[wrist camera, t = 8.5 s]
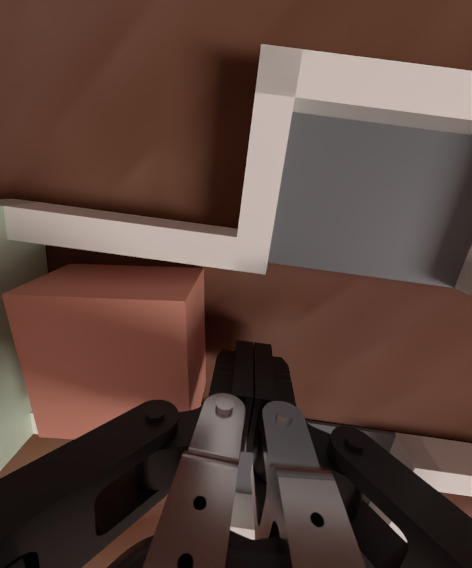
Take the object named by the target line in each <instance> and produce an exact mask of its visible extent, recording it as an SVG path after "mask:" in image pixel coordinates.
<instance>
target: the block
mask: <svg viewBox="0 0 472 568" xmlns="http://www.w3.org/2000/svg"><path fill="white" fill-rule="evenodd" d="M2 298H3V302H4V306H5V310H6V313H7V317H8V321H9V325H10V328H11V332H12V336H13V340H14V344H15V347H16V351H17V355H18V359H19V363H20V366H21V370H22V374H23V378H24V381H25V385H26V389H27V393H28V397H29V400H30V404H31V408H32V412H33V416H34V419H35V423H36V427H37V431H38V435H39V437H45V438H62V439H76V438H78V437H80V436H82V435H84V434H86V433H87V432H89V431H91V430H93V429H95V428H97V427H99V426H101V425H103V424H104V423H106V422H108V421H110V420H112V419H114V418H116V417H118V416H120V415H121V414H123V413H125V412H127V411H129V410H131V409H133V408H135V407H136V406H138V405H140V404H142V403H144V402H147V401H150V400H157V399H158V400H166V401H169V402H171V403H172V404H174V405H175V406H176V408H177V409H178V412H182V411H189V410H194V409H196V408H199V407H200V406H201V402H202V397H203V393H204V389H205V384H206V366H205V309H204V268H191V267H161V266H131V265H100V264H68V265H65V266H63V267H61V268H59V269H57V270H54V271H52V272H50V273H48V274H46V275H43V276H41V277H39V278H37V279H35V280H32V281H30V282H28V283H26V284H23V285H21V286H19V287H17V288H15V289H12V290H10V291H8V292H6V293H4V294H2Z"/></svg>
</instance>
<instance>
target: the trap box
mask: <svg viewBox="0 0 472 568" xmlns="http://www.w3.org/2000/svg"><path fill="white" fill-rule="evenodd" d="M46 245H52V246H59V247H66V248H74V249H81V250H88V251H96V252H103V253H111V254H118V255H125V256H133V257H140V258H147V259H155V260H162V261H169V262H177V263H184V264H191V265H199V266H206V267H213V268H221V269H228V270H236V271H243V272H250V273H258V274H265V275H266V269H267V263H275V264H282V265H290V266H297V267H304V268H312V269H319V270H326V271H334V272H341V273H349V274H356V275H363V276H371V277H378V278H385V279H393V280H400V281H408V282H415V283H422V284H430V285H437V286H445V287H452V288H456V289H458V290H460V291H461V292H463V293H465V294H467V295H469V296H471V297H472V71H469V70H461V69H454V68H446V67H438V66H430V65H422V64H414V63H406V62H399V61H391V60H383V59H375V58H367V57H359V56H351V55H344V54H336V53H328V52H320V51H312V50H304V49H296V48H289V47H281V46H273V45H265V44H261V50H260V58H259V66H258V74H257V82H256V90H255V98H254V106H253V114H252V121H251V129H250V137H249V145H248V153H247V161H246V169H245V177H244V185H243V193H242V200H241V208H240V216H239V224H238V229H236V228H229V227H221V226H214V225H206V224H199V223H191V222H184V221H176V220H169V219H162V218H154V217H147V216H139V215H132V214H124V213H117V212H110V211H102V210H95V209H87V208H80V207H72V206H65V205H57V204H50V203H43V202H35V201H28V200H20V199H0V471H1V470H2V468H3V467H4V466H5V465H6V464H7V463H8V462H9V460H10V459H11V458H12V457H13V456H14V455H15V454H16V452H17V451H18V450H19V449H20V448H21V447H22V446H23V444H24V443H25V442H26V441H27V440H28V439H29V438H30V437H31V435H32V434H38V431H37V427H36V423H35V419H34V416H33V412H32V408H31V404H30V400H29V397H28V393H27V389H26V385H25V381H24V378H23V374H22V370H21V366H20V363H19V359H18V355H17V351H16V347H15V344H14V340H13V336H12V332H11V328H10V325H9V321H8V317H7V313H6V310H5V306H4V302H3V298H2V294H4V293H6V292H8V291H10V290H12V289H15V288H17V287H19V286H21V285H23V284H26V283H28V282H30V281H32V280H35V279H37V278H39V277H41V276H43V275H46V274H48V268H47V256H46ZM201 406H202V405H201ZM305 421H306V422H307V423H308V424H310V425H311V426H313V427H315V428H317V429H320V430H322V431H325V432H327V433H330V434H331V433H332V431H333V429H335V428H336V427H339V426H346V425H339V424H332V423H325V422H318V421H311V420H305ZM349 427H353V428H356V429H358V430H360V431H362V432H364V433H365V434H367V435H368V436H369V437H370V438H372V439H373V440H374V441H375V442H377V443H378V444H379V445H380V446H382V447H383V448H384V449H385V450H387V451H388V452H389V453H390V454H392V455H393V456H394V457H395V458H397V459H398V460H399V461H400V462H402V463H403V464H404V465H405V466H407V467H408V468H409V469H410V470H412V471H413V472H414V473H415V474H417V475H418V476H419V477H421V478H422V479H423V480H424V481H426V482H427V483H428V484H429V485H431V486H432V487H433V488H434V489H436V490H437V491H438V492H444V493H451V494H458V495H465V496H472V443H467V442H460V441H453V440H446V439H438V438H431V437H424V436H417V435H410V434H403V433H396V432H389V431H382V430H375V429H368V428H361V427H354V426H349ZM252 464H253V453H249V452H246V443H245V449H244V452H241V453H240V459H239V466H238V473H237V481H236V488H235V496H234V503H233V511H232V518H231V525H230V530H231V531H233V532H235V533H238V534H240V535H242V536H244V537H246V538H249V539H251V540H255V529H254V515H253V501H252V487H251V469H252ZM363 500H364V501H365V502H366V503H367V504H368V505H369V506H370V507H371V508H372V509H373V510H374V511H375V512H376V513H377V514H378V515H379V516H380V517H381V518H382V519H383V520H384V521H385V522H386V523H387V524H388V525H389V526H390V527H391V528H392V529H393V530H394V531H395V532H396V533H397V534H398V535H399V536H400V537H401V538H402V539H403V540H404V541H405V542H407V540H406V538H405V536H404V534H403V533H402V532H401V530H400V529H399V528H398V527H397V526H396V525H395V524H394V523H393V522H392V521H391V520H390V519H389V518H388V517H387V516H386V515H385V514H384V513H383V512H382V511H381V510H380V509H379V508H378V507H376V506H375V505H374V504H373V503H372V502H371V501H370V500H369V499H368V498H367V497H366V496H364V499H363Z"/></svg>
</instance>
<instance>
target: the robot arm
mask: <svg viewBox="0 0 472 568" xmlns="http://www.w3.org/2000/svg"><path fill="white" fill-rule="evenodd" d="M245 443H246V452H249V453H253V464H252V469H251V487H252V501H253V515H254V529H255V540H251V539H249V538H246V537H244V536H242V535H240V534H238V533H235V532H233V531H231V530H230V525H231V518H232V511H233V503H234V496H235V488H236V481H237V473H238V466H239V459H240V453H241V452H244V449H245ZM168 493H169V494H168ZM167 494H168V497H167V500H166V502H165V505H164V508H163V511H162V514H161V517H160V519H159V522H158V525H157V528H156V531H155V534H154V535H153V536H151V537H148V538H146V539H144V540H142V541H140V542H138V543H137V544H135V545H133V546H132V547H130V548H129V549H128V550H127V551H125V552H124V553H123V554H121V555H120V556H119V557H118V558H117V559H116V560H115V561H114V562H113V563H112V564H110V565H109V566H108V567H107V568H472V518H471V517H469V516H468V515H467V514H466V513H464V512H463V511H462V510H461V509H459V508H458V507H457V506H456V505H454V504H453V503H452V502H451V501H449V500H448V499H447V498H446V497H444V496H443V495H442V494H441V493H439V492H438V491H437V490H436V489H434V488H433V487H432V486H431V485H429V484H428V483H427V482H426V481H424V480H423V479H422V478H421V477H419V476H418V475H417V474H415V473H414V472H413V471H412V470H410V469H409V468H408V467H407V466H405V465H404V464H403V463H402V462H400V461H399V460H398V459H397V458H395V457H394V456H393V455H392V454H390V453H389V452H388V451H387V450H385V449H384V448H383V447H382V446H380V445H379V444H378V443H377V442H375V441H374V440H373V439H372V438H370V437H369V436H368V435H367V434H365V433H364V432H362V431H360V430H358V429H356V428H353V427H349V426H339V427H336V428H335V429H333V431H332V433H331V434H330V433H327V432H325V431H322V430H320V429H317V428H315V427H313V426H311V425H310V424H308V423H307V422H306V421H305V418H304V415H303V414H302V412H301V411H300V410H299V409H298V408H297V407H296V403H295V398H294V392H293V387H292V382H291V377H290V372H289V367H288V365H287V363H286V362H285V361H284V360H283V358H281V357H273V356H272V348H271V344H263V343H256V342H254V345H253V342H248V341H241V340H237V342H236V349H235V351H229V350H223V351H221V352H220V353H219V354H218V355H217V359H216V363H215V368H214V373H213V378H212V383H211V387H210V392H209V397H208V398H207V399H206V400H205V402H204V404H203V405H202V406H200V407H199V408H196V409H194V410H189V411H182V412H178V409H177V408H176V406H175V405H174V404H172V403H171V402H169V401H166V400H158V399H157V400H150V401H147V402H144V403H142V404H140V405H138V406H136V407H135V408H133V409H131V410H129V411H127V412H125V413H123V414H121V415H120V416H118V417H116V418H114V419H112V420H110V421H108V422H106V423H104V424H103V425H101V426H99V427H97V428H95V429H93V430H91V431H89V432H87V433H86V434H84V435H82V436H80V437H78V438H76V439H74V440H72V441H70V442H69V443H67V444H65V445H63V446H61V447H59V448H57V449H55V450H53V451H52V452H50V453H48V454H46V455H44V456H42V457H40V458H38V459H37V460H35V461H33V462H31V463H29V464H27V465H25V466H23V467H21V468H20V469H18V470H16V471H14V472H12V473H10V474H8V475H6V476H4V477H3V478H1V479H0V568H81V567H83V566H84V565H85V564H86V563H87V562H89V561H90V560H91V559H92V558H93V557H94V556H96V555H97V554H98V553H99V552H100V551H102V550H103V549H104V548H105V547H106V546H107V545H109V544H110V543H111V542H112V541H113V540H114V539H116V538H117V537H118V536H119V535H120V534H122V533H123V532H124V531H125V530H126V529H127V528H129V527H130V526H131V525H132V524H133V523H135V522H136V521H137V520H138V519H139V518H140V517H142V516H143V515H144V514H145V513H146V512H148V511H149V510H150V509H151V508H152V507H153V506H155V505H156V504H157V503H158V502H159V501H161V500H162V499H163V498H164V497H165V496H166V495H167ZM364 496H366V497H367V498H368V499H369V500H370V501H371V502H372V503H373V504H374V505H375V506H376V507H378V508H379V509H380V510H381V511H382V512H383V513H384V514H385V515H386V516H387V517H388V518H389V519H390V520H391V521H392V522H393V523H394V524H395V525H396V526H397V527H398V528H399V529H400V530H401V532H402V533H403V534H404V536H405V538H406V540H407V542H408V543H407V542H405V541H404V540H403V539H402V538H401V537H400V536H399V535H398V534H397V533H396V532H395V531H394V530H393V529H392V528H391V527H390V526H389V525H388V524H387V523H386V522H385V521H384V520H383V519H382V518H381V517H380V516H379V515H378V514H377V513H376V512H375V511H374V510H373V509H372V508H371V507H370V506H369V505H368V504H367V503H366V502H365V501H364V500H363V499H364Z"/></svg>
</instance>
